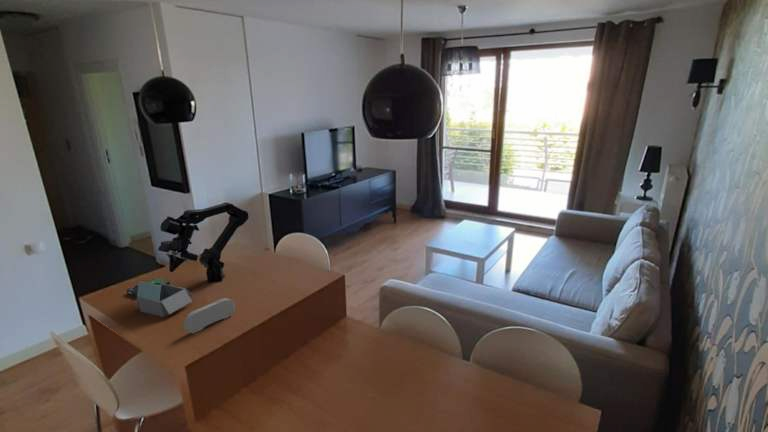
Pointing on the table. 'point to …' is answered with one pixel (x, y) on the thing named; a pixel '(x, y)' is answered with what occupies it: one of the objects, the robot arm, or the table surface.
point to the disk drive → (157, 281)
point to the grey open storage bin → (165, 301)
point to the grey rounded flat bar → (208, 315)
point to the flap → (149, 290)
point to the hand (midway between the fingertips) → (170, 271)
